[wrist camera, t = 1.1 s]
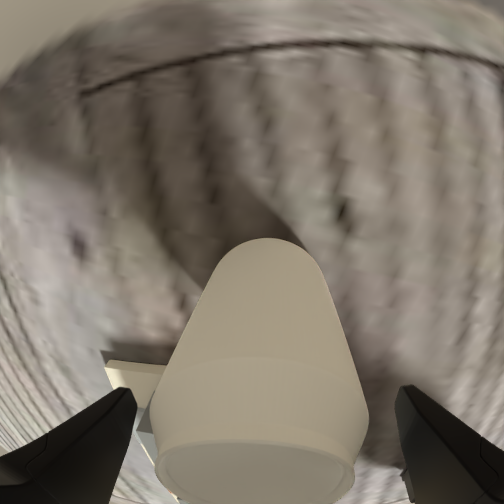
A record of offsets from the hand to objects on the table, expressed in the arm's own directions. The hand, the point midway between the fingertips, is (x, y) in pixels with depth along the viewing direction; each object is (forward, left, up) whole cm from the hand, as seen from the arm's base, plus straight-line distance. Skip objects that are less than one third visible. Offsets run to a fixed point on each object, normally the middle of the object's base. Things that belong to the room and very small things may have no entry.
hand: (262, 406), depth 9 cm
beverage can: (0, 0, -9) cm, 9 cm away
